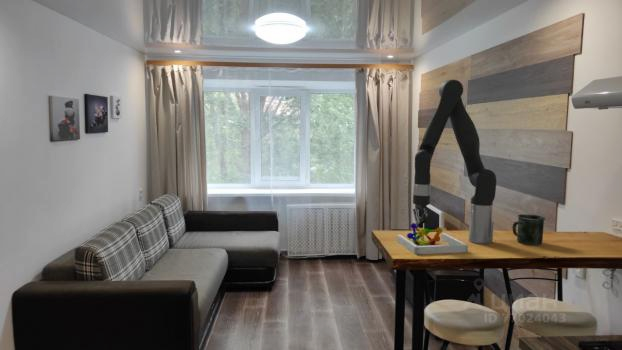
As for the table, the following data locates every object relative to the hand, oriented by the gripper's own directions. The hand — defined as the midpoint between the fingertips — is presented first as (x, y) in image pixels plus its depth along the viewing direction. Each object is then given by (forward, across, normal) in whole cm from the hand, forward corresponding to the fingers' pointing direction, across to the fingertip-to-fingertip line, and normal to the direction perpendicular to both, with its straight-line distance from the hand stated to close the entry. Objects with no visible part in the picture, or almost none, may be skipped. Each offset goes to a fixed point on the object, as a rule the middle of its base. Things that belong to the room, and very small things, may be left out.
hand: (420, 231), depth 200 cm
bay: (+4, -11, 0) cm, 12 cm away
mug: (+4, -11, -46) cm, 48 cm away
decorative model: (+4, -8, +2) cm, 9 cm away
